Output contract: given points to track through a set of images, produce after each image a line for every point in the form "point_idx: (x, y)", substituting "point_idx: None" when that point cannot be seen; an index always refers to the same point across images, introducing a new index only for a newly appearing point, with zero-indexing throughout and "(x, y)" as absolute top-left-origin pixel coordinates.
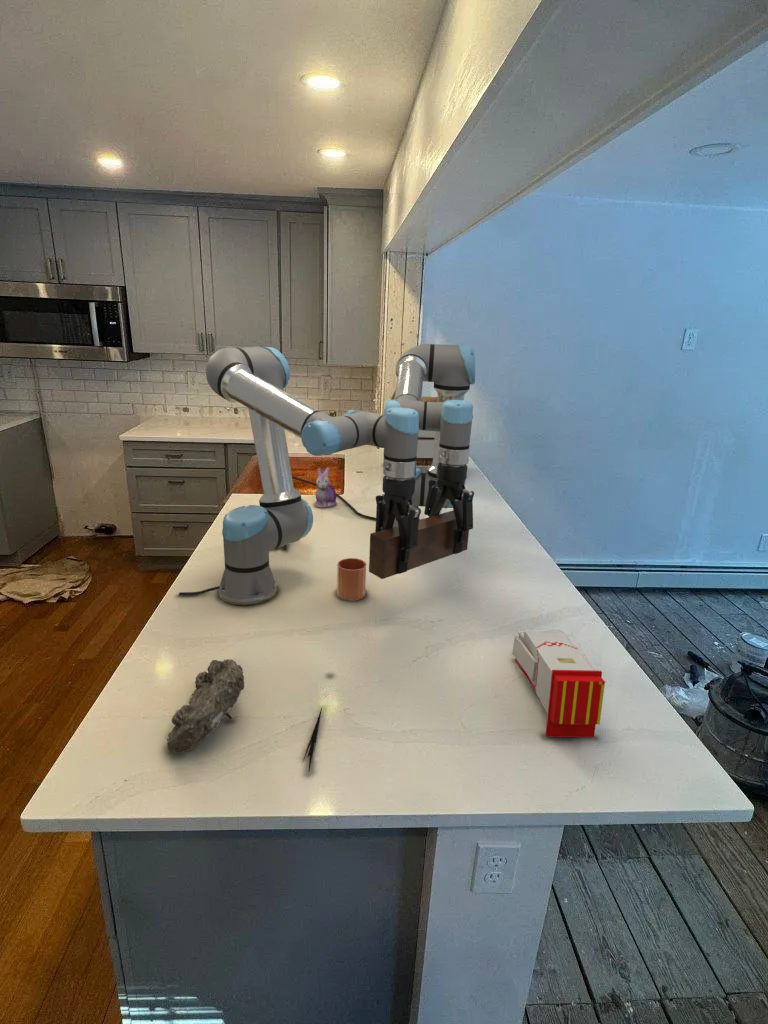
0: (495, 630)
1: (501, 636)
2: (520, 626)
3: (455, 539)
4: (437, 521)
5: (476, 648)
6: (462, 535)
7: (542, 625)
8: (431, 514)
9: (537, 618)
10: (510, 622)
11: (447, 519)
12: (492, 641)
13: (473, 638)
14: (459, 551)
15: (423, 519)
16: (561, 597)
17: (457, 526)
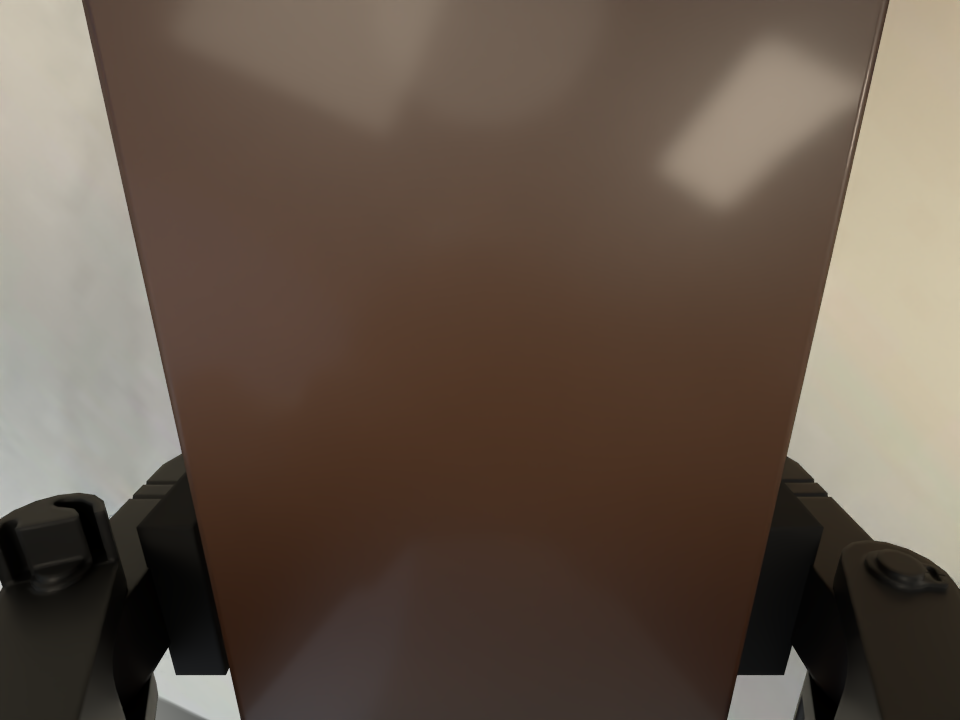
0: (122, 276)
1: (65, 257)
2: (103, 394)
3: None
4: (338, 308)
5: (18, 58)
6: (117, 531)
7: (70, 471)
8: (920, 626)
9: (126, 498)
10: (150, 386)
11: (324, 636)
12: (44, 184)
13: (106, 123)
14: None
15: (815, 7)
16: (216, 683)
17: (91, 599)
